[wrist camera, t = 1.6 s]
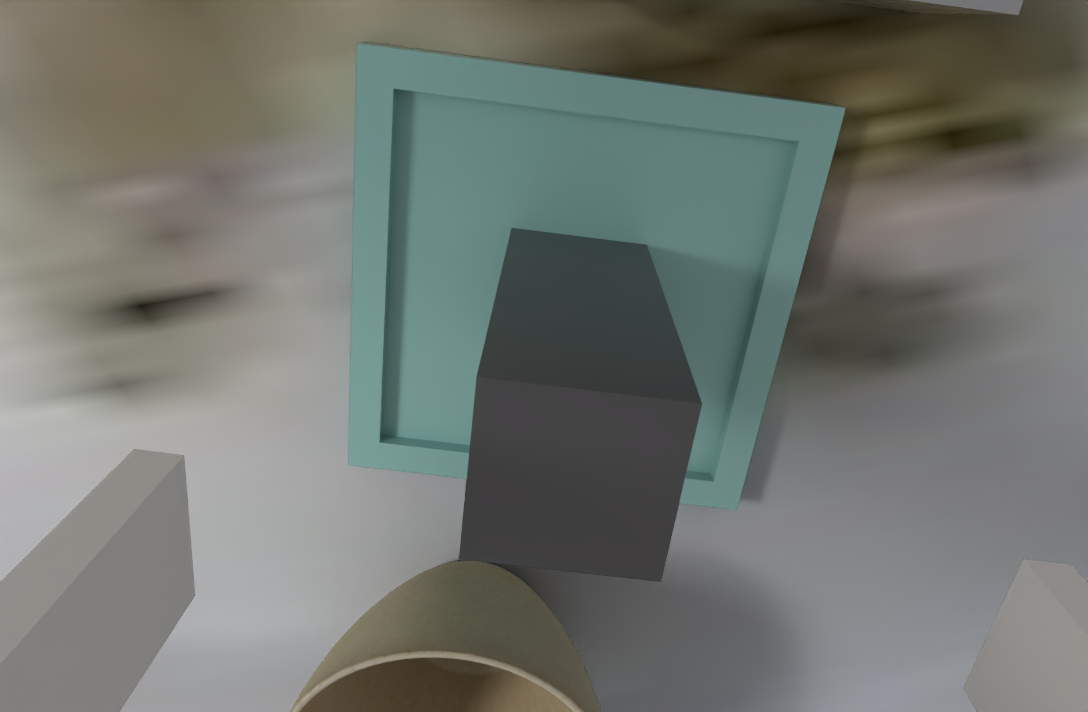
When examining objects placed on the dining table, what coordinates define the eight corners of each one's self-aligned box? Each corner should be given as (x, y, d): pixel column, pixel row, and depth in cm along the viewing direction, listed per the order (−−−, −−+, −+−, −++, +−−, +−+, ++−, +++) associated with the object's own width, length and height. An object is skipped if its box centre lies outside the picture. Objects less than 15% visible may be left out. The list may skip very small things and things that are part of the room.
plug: (498, 351, 24) (459, 559, 15) (511, 227, 23) (476, 377, 14) (624, 367, 24) (660, 582, 15) (646, 244, 23) (702, 404, 14)
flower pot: (644, 547, 28) (668, 712, 21) (552, 733, 32) (548, 921, 25) (374, 466, 27) (312, 615, 20) (313, 669, 31) (245, 849, 24)
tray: (355, 450, 26) (348, 464, 26) (364, 42, 21) (356, 43, 20) (731, 494, 27) (736, 509, 26) (835, 104, 21) (845, 107, 21)
